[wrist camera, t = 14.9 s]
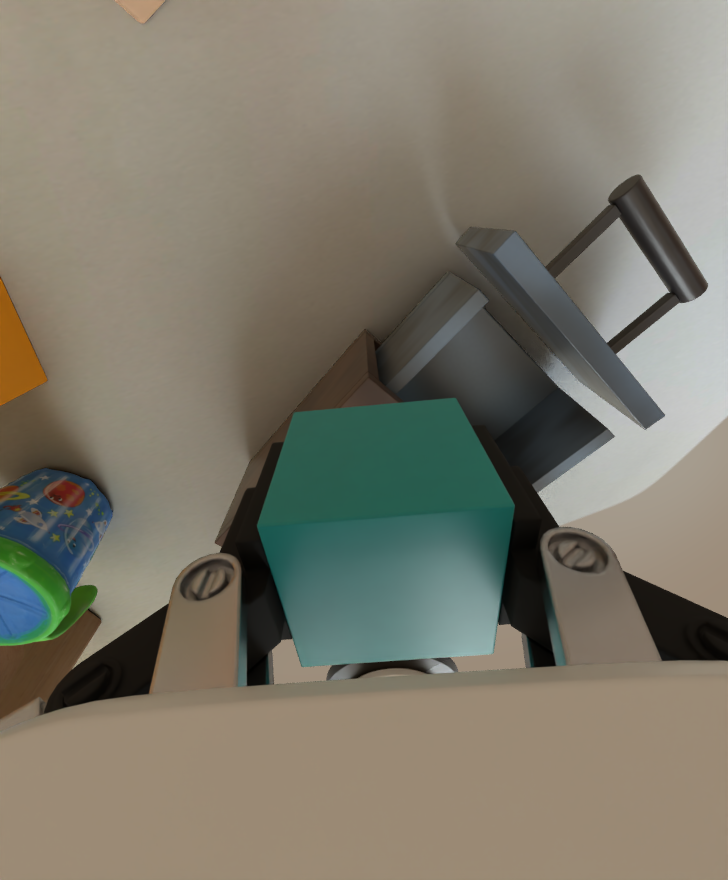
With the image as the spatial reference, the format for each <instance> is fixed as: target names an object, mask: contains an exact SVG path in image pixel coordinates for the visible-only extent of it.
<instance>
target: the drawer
mask: <svg viewBox="0 0 728 880" xmlns="http://www.w3.org/2000/svg"><path fill="white" fill-rule="evenodd" d="M608 201H609V203H610V205H608V206H607V207H606V208H605V209H604V210H603V211H602V212H601V213H600V214H599V215H598V216H597V217H596V218H595V219H594V220H593V221H592V222H591V223H590V224H589V225H588V226H587V227H586V228H585V229H584V230H583V231H582V232H581V233H580V234H579V235H578V236H577V237H576V238H575V239H574V240H573V241H572V242H571V243H570V244H569V245H568V246H567V247H565V248H564V249H563V250H562V251H561V252H560V253H559V254H558V255H557V256H556V257H555V258H554V259H553V260H552V261H551V262H550V263H549V264H548V265H547V266H546V267H544V265H543V264H542V263H541V262H540V260H539V259H538V258H537V257H536V256H535V254H534V253H533V252H532V251H531V249H530V248H529V247H528V246H527V244H526V243H525V242H524V241H523V240H522V238H521V237H520V236H519V235H518V233H517V232H516V231H511V230H500V229H488V228H477V227H470V228H469V229H468V230H467V231H466V232H465V234H464V235H463V236H462V237H461V238H460V239H459V240H458V241H457V243H456V245H457V246H458V247H459V248H460V250H461V251H462V252H463V253H464V254H465V255H466V256H467V257H468V258H469V260H470V261H471V262H472V263H473V264H474V265H475V266H476V267H477V268H478V270H479V271H480V272H481V273H482V274H483V275H484V276H485V277H486V278H487V280H488V281H489V282H490V283H491V284H492V285H493V286H494V287H495V288H496V290H497V291H498V292H499V293H500V294H501V295H502V296H503V297H504V298H505V300H506V301H507V302H508V303H509V304H510V305H511V306H512V307H513V308H514V310H515V311H516V312H517V313H518V314H519V315H520V316H521V317H522V318H523V320H524V321H525V322H526V323H527V324H528V325H529V326H530V327H531V328H532V330H533V331H534V332H535V333H536V334H537V335H538V336H539V337H540V338H541V340H542V341H543V342H544V343H545V344H546V345H547V346H548V347H549V348H550V350H551V351H552V352H553V353H554V354H555V355H556V356H557V357H558V358H559V360H560V361H561V362H562V363H563V364H564V365H565V366H566V367H567V368H568V370H569V371H570V372H571V373H572V374H573V375H574V376H575V377H576V378H577V380H578V381H580V382H581V383H582V384H584V385H585V386H586V387H588V388H589V389H590V390H592V391H593V392H594V393H596V394H597V395H598V396H600V397H601V398H603V399H604V400H605V401H607V402H608V403H609V404H611V405H612V406H613V407H615V408H616V409H617V410H619V411H620V412H621V413H623V414H624V415H626V416H627V417H628V418H630V419H631V420H632V421H634V422H635V423H636V424H638V425H639V426H640V427H642V428H643V429H645V430H646V429H647V428H649V427H650V426H651V425H653V424H654V423H656V422H657V421H659V420H660V419H661V418H663V417H664V416H665V414H664V413H663V412H662V411H661V409H660V408H659V407H658V406H657V404H656V403H655V402H654V401H653V400H652V398H651V397H650V396H649V395H648V393H647V392H646V391H645V390H644V388H643V387H642V386H641V385H640V384H639V382H638V381H637V380H636V379H635V377H634V376H633V375H632V374H631V372H630V371H629V370H628V369H627V368H626V366H625V365H624V364H623V363H622V361H621V360H620V359H619V358H618V356H617V355H616V353H618V352H619V351H620V350H621V349H623V348H624V347H625V346H626V345H627V344H629V343H630V342H631V341H632V340H634V339H635V338H636V337H637V336H639V335H640V334H641V333H642V332H643V331H645V330H646V329H647V328H648V327H650V326H651V325H652V324H653V323H655V322H656V321H657V320H658V319H660V318H661V317H662V316H663V315H664V314H666V313H667V312H668V311H669V310H671V309H672V308H673V307H674V306H676V305H677V304H678V303H686V302H689V301H692V300H694V299H696V298H698V297H699V296H701V295H702V294H703V293H704V292H705V291H706V289H707V287H708V283H707V282H706V280H705V278H704V277H703V275H702V273H701V272H700V270H699V269H698V267H697V265H696V264H695V262H694V261H693V259H692V257H691V256H690V254H689V252H688V251H687V249H686V248H685V246H684V244H683V243H682V241H681V239H680V238H679V236H678V235H677V233H676V231H675V230H674V228H673V226H672V225H671V223H670V222H669V220H668V218H667V217H666V215H665V214H664V212H663V210H662V209H661V207H660V205H659V204H658V202H657V201H656V199H655V197H654V196H653V194H652V192H651V191H650V189H649V188H648V186H647V184H646V183H645V181H644V180H643V178H642V176H641V175H635V176H632V177H630V178H629V179H627V180H626V181H624V182H623V183H621V184H620V185H619V186H618V187H617V188H616V189H615V190H614V191H613V192H612V193H611V194H610V196H609V198H608ZM618 217H619V218H620V219H621V221H622V222H623V224H624V225H625V227H626V228H627V230H628V231H629V233H630V234H631V236H632V237H633V239H634V240H635V242H636V243H637V245H638V246H639V248H640V249H641V250H642V252H643V253H644V255H645V256H646V258H647V259H648V261H649V262H650V264H651V265H652V267H653V268H654V270H655V271H656V273H657V274H658V276H659V277H660V279H661V280H662V282H663V283H664V285H665V286H666V288H667V289H668V290H669V292H670V293H667V294H665V295H664V296H663V297H662V298H661V299H659V300H658V301H657V302H656V303H655V304H653V305H652V306H651V307H650V308H649V309H647V310H646V311H645V312H644V313H643V314H641V315H640V316H639V317H638V318H637V319H635V320H634V321H633V322H632V323H630V324H629V325H628V326H627V327H626V328H624V329H623V330H622V331H621V332H620V333H618V334H617V335H616V336H615V337H614V338H612V339H611V340H610V341H609V342H608V343H606V342H605V340H604V339H603V338H602V337H601V336H600V334H599V333H598V332H597V331H596V329H595V328H594V327H593V326H592V324H591V323H590V322H589V321H588V320H587V318H586V317H585V316H584V315H583V313H582V312H581V311H580V310H579V308H578V307H577V306H576V305H575V304H574V302H573V301H572V300H571V299H570V297H569V296H568V295H567V294H566V292H565V291H564V290H563V289H562V288H561V286H560V285H559V284H558V283H557V281H556V280H555V278H556V277H557V276H558V275H559V274H560V273H561V272H562V271H563V270H564V269H565V268H566V267H567V266H568V265H569V264H570V263H571V262H572V261H573V260H574V259H575V258H577V257H578V256H579V255H580V254H581V253H582V252H583V251H584V250H585V249H586V248H587V247H588V246H589V245H590V244H591V243H592V242H593V241H594V240H595V239H596V238H597V237H598V236H600V235H601V234H602V233H603V232H604V231H605V230H606V229H607V228H608V227H609V226H610V225H611V224H612V223H613V222H614V221H615V220H616V219H617V218H618ZM488 301H489V299H488V298H487V297H486V296H485V295H484V294H483V293H482V292H481V291H480V290H479V289H478V288H476V287H474V286H473V285H471V284H469V283H468V282H466V281H464V280H463V279H461V278H459V277H457V276H456V275H454V274H452V273H450V272H447V273H446V274H445V275H444V276H443V277H442V278H441V279H440V280H439V282H438V283H437V284H436V285H435V286H434V287H433V288H432V289H431V290H430V292H429V293H428V294H427V295H426V296H425V297H424V298H423V299H422V300H421V301H420V303H419V304H418V305H417V306H416V307H415V308H414V309H413V310H412V311H411V312H410V314H409V315H408V316H407V317H406V318H405V319H404V320H403V321H402V322H401V324H400V325H399V326H398V327H397V328H396V329H395V330H394V331H393V332H392V333H391V335H390V336H389V337H388V338H387V339H386V340H385V341H384V342H383V343H382V345H381V346H380V347H379V348H378V349H377V350H376V351H375V353H376V360H377V368H378V375H379V381H380V382H381V383H382V384H384V385H385V386H386V387H387V388H388V389H390V390H391V391H392V392H393V393H394V394H396V395H397V396H398V397H399V398H400V399H402V400H403V401H404V402H413V401H424V400H436V399H447V398H456V399H457V401H458V403H459V404H460V406H461V408H462V410H463V412H464V414H465V415H466V417H467V419H468V421H469V423H470V424H471V426H474V425H485V426H486V428H487V430H488V431H489V433H490V435H491V436H492V438H493V439H494V441H495V443H496V444H497V446H498V448H499V449H500V451H501V452H502V454H503V456H504V457H505V459H506V461H507V462H508V464H509V465H510V466H518V467H520V468H521V469H522V471H523V472H524V474H525V475H526V477H527V478H528V480H529V481H530V483H531V484H532V486H533V487H534V489H535V491H536V492H539V491H540V490H542V489H543V488H544V487H546V486H547V485H549V484H550V483H551V482H553V481H554V480H555V479H557V478H558V477H560V476H561V475H562V474H564V473H565V472H567V471H568V470H569V469H571V468H572V467H573V466H575V465H576V464H578V463H579V462H580V461H582V460H583V459H585V458H586V457H587V456H589V455H590V454H592V453H593V452H594V451H596V450H597V449H598V448H600V447H601V446H603V445H604V444H605V443H607V442H608V441H610V440H611V439H612V438H614V437H615V436H614V435H613V434H612V433H611V432H610V430H609V429H608V428H606V427H605V426H604V425H603V424H602V423H601V422H599V421H598V420H597V419H596V418H595V417H593V416H592V415H591V414H590V413H589V412H587V411H586V410H585V409H584V408H583V407H582V406H580V405H579V404H578V403H577V402H576V401H574V400H573V399H572V398H571V397H570V396H569V395H567V394H566V393H565V392H564V391H563V390H561V389H560V388H559V387H558V386H557V385H556V384H555V383H554V382H553V381H552V380H551V379H550V377H549V376H548V375H547V374H546V373H545V372H544V371H543V370H542V369H541V368H540V367H539V366H538V365H537V364H536V363H535V361H534V360H533V359H532V358H531V357H530V356H529V355H528V354H527V353H526V352H525V351H524V350H523V349H522V348H521V347H520V346H519V344H518V343H517V342H516V341H515V340H514V339H513V338H512V337H511V336H510V335H509V334H508V333H507V332H506V331H505V330H504V328H503V327H502V326H501V325H500V324H499V323H498V322H497V321H496V320H495V319H494V318H493V317H492V316H491V315H490V314H489V312H488V311H487V310H486V309H485V308H484V306H485V305H486V304H487V303H488Z"/></svg>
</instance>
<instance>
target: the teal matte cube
mask: <svg viewBox="0 0 728 880" xmlns="http://www.w3.org/2000/svg"><path fill="white" fill-rule="evenodd" d="M514 508H515V505H514V503H513V501H512V499H511V497H510V495H509V493H508V492H507V490H506V488H505V486H504V484H503V483H502V481H501V479H500V477H499V475H498V473H497V472H496V470H495V468H494V466H493V464H492V463H491V461H490V459H489V457H488V455H487V454H486V452H485V450H484V448H483V446H482V444H481V443H480V441H479V439H478V437H477V435H476V434H475V432H474V430H473V428H472V426H471V424H470V423H469V421H468V419H467V417H466V415H465V414H464V412H463V410H462V408H461V406H460V404H459V403H458V401H457V399H456V398H447V399H436V400H424V401H413V402H402V403H391V404H380V405H369V406H358V407H347V408H336V409H325V410H314V411H303V412H294V413H293V416H292V419H291V422H290V426H289V429H288V432H287V435H286V438H285V441H284V444H283V447H282V450H281V453H280V456H279V459H278V462H277V465H276V468H275V472H274V475H273V478H272V481H271V484H270V487H269V490H268V493H267V496H266V499H265V502H264V505H263V508H262V511H261V514H260V517H259V521H258V524H257V528H258V532H259V535H260V538H261V541H262V544H263V547H264V550H265V554H266V557H267V560H268V563H269V566H270V569H271V572H272V575H273V579H274V582H275V585H276V588H277V591H278V594H279V597H280V601H281V604H282V607H283V610H284V613H285V616H286V619H287V623H288V626H289V629H290V632H291V635H292V638H293V641H294V645H295V647H296V651H297V654H298V657H299V660H300V663H301V666H302V667H311V666H325V665H340V664H355V663H370V662H384V661H399V660H414V659H429V658H443V657H457V656H473V655H487V654H493V653H494V646H495V639H496V632H497V626H498V619H499V612H500V605H501V598H502V591H503V584H504V577H505V570H506V563H507V556H508V549H509V543H510V536H511V529H512V522H513V515H514Z"/></svg>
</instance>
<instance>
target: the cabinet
mask: <svg viewBox="0 0 728 880" xmlns="http://www.w3.org/2000/svg"><path fill="white" fill-rule="evenodd" d="M381 345H382V343H380V342H379V341H378V340H377V339H376V338H375V337H374V336H372V335H371V334H370V333H369V332H368V331H367V330H366V329H365V330H364V331H363V332H362V333H361V334H360V335H359V336H358V338H357V339H356V340H355V341H354V342H353V343H352V344H351V346H350V347H349V348H348V349H347V350H346V351H345V353H344V354H343V355H342V356H341V357H340V358H339V359H338V361H337V362H336V363H335V364H334V365H333V366H332V368H331V369H330V370H329V371H328V372H327V373H326V374H325V376H324V377H323V378H322V379H321V380H320V381H319V383H318V384H317V385H316V386H315V387H314V388H313V389H312V391H311V392H310V393H309V394H308V395H307V396H306V398H305V399H304V400H303V401H302V402H301V403H300V405H299V406H298V407H297V408H296V409H295V410H294V411H293V413H294V412H303V411H314V410H325V409H336V408H347V407H358V406H369V405H380V404H391V403H402V402H404V401H403V400H402V399H400V398H399V397H398V396H397V395H396V394H394V393H393V392H392V391H391V390H390V389H388V388H387V387H386V386H385V385H384V384H382V383H381V382H380V381H379V375H378V368H377V360H376V353H375V351H376V350H377V349H378V348H379V347H380V346H381ZM293 413H292V414H291V415H290V416H289V417H288V418H287V420H286V421H285V422H284V423H283V424H282V425H281V426H280V428H279V429H278V430H277V431H276V432H275V433H274V435H273V436H272V437H271V438H270V439H269V440H268V441H267V443H266V444H265V445H264V446H263V447H262V448H261V450H260V451H259V452H258V453H257V454H256V455H255V456H254V458H253V459H252V460H251V461H250V463H249V465H248V467H247V469H246V472H245V474H244V476H243V478H242V481H241V483H240V485H239V488H238V490H237V492H236V494H235V497H234V499H233V501H232V504H231V506H230V508H229V510H228V513H227V515H226V517H225V519H224V522H223V524H222V526H221V529H220V531H219V534H218V536H217V538H216V540H215V543H216V544H217V545H219V546H221V547H222V546H223V543H224V541H225V538H226V536H227V533H228V531H229V529H230V526H231V524H232V521H233V519H234V516H235V514H236V512H237V509H238V507H239V504H240V502H241V499H242V497H243V494H244V492H245V491H246V489H247V488H252V487H256V485H257V482H258V479H259V477H260V474H261V471H262V469H263V466H264V463H265V461H266V458H267V456H268V453H269V450H270V448H271V445H272V443H275V442H284V441H285V438H286V435H287V432H288V429H289V426H290V422H291V419H292V416H293Z"/></svg>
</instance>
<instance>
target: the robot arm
mask: <svg viewBox="0 0 728 880" xmlns="http://www.w3.org/2000/svg"><path fill="white" fill-rule="evenodd" d="M472 428H473V430H474V432H475V434H476V435H477V437H478V439H479V441H480V443H481V444H482V446H483V448H484V450H485V452H486V454H487V455H488V457H489V459H490V461H491V463H492V464H493V466H494V468H495V470H496V472H497V473H498V475H499V477H500V479H501V481H502V483H503V484H504V486H505V488H506V490H507V492H508V493H509V495H510V497H511V499H512V501H513V503H514V505H515V508H514V515H513V522H512V529H511V536H510V543H509V549H508V556H507V563H506V570H505V577H504V584H503V591H502V598H501V605H500V612H499V619H498V623H499V625H504V624H511V626H512V627H514V628H515V629H517V630H518V631H520V632H522V643H523V650H524V658H525V665H526V668H520V669H502V670H487V671H469V672H453V673H438V674H426V673H424V672H421V671H418V670H415V669H410V668H399V667H395V668H383V669H378V670H374V671H371V672H368V673H366V674H363V675H361V676H360V677H358V678H357V679H345V680H330V681H317V682H316V681H315V682H302V683H287V684H274V677H273V657H272V649H273V648H274V647H275V646H277V645H278V644H279V643H280V642H281V640H284V639H292V635H291V632H290V629H289V626H288V623H287V619H286V616H285V613H284V610H283V607H282V604H281V601H280V597H279V594H278V591H277V588H276V585H275V582H274V579H273V575H272V572H271V569H270V566H269V563H268V560H267V557H266V554H265V550H264V547H263V544H262V541H261V538H260V535H259V532H258V528H257V524H258V521H259V517H260V514H261V511H262V508H263V505H264V502H265V499H266V496H267V493H268V490H269V487H270V484H271V481H272V478H273V475H274V472H275V468H276V465H277V462H278V459H279V456H280V453H281V450H282V447H283V444H284V442H275V443H272V445H271V448H270V450H269V453H268V456H267V458H266V461H265V463H264V466H263V469H262V471H261V474H260V477H259V479H258V482H257V485H256V487H252V488H247V489H246V491H245V492H244V494H243V497H242V499H241V502H240V504H239V507H238V509H237V512H236V514H235V516H234V519H233V521H232V524H231V526H230V529H229V531H228V533H227V536H226V538H225V541H224V543H223V546H222V548H221V550H220V553H216V554H210V555H207V556H204V557H201V558H199V559H197V560H196V561H194V562H192V563H191V564H189V565H188V566H187V567H186V568H185V569H184V570H182V572H181V573H180V574H179V576H178V577H177V578H176V580H175V583H174V585H173V588H172V592H171V597H170V601H169V604H167V605H166V606H164V607H163V608H161V609H160V610H158V611H157V612H155V613H154V614H152V615H151V616H149V617H148V618H146V619H145V620H143V621H142V622H140V623H139V624H137V625H136V626H134V627H133V628H131V629H130V630H129V631H127V632H126V633H124V634H123V635H121V636H120V637H118V638H117V639H115V640H114V641H112V642H111V643H109V644H108V645H106V646H105V647H103V648H102V649H100V650H99V651H97V652H96V653H94V654H93V655H91V656H90V657H89V658H87V659H86V660H84V661H83V662H81V663H80V664H79V665H77V666H76V667H75V668H74V669H72V670H71V671H70V672H69V673H68V674H67V675H66V676H65V677H64V678H63V679H62V680H61V681H60V682H59V683H58V684H57V686H56V687H55V689H54V691H53V692H52V694H51V695H50V697H49V698H48V699H46V700H45V701H43V700H42V699H41V698H40V697H38V698H36V699H34V700H33V701H31V702H29V703H27V704H26V705H24V706H22V707H20V708H19V709H17V710H15V711H13V712H12V713H10V714H8V715H6V716H5V717H3V718H1V719H0V880H728V618H726V617H724V616H722V615H720V614H718V613H715V612H713V611H711V610H709V609H706V608H704V607H702V606H700V605H698V604H695V603H693V602H691V601H689V600H687V599H684V598H682V597H680V596H678V595H676V594H673V593H671V592H669V591H667V590H664V589H662V588H660V587H658V586H656V585H653V584H651V583H649V582H647V581H644V580H642V579H640V578H638V577H636V576H633V575H631V574H629V573H627V572H625V571H623V570H622V568H621V566H620V563H619V561H618V559H617V556H616V554H615V553H614V551H613V550H612V548H611V547H610V546H609V545H608V544H607V543H606V542H605V541H604V540H603V539H601V538H599V537H598V536H596V535H594V534H593V533H590V532H588V531H585V530H582V529H578V528H572V527H559V526H558V524H557V523H556V521H555V520H554V518H553V517H552V515H551V513H550V512H549V510H548V509H547V507H546V506H545V504H544V503H543V501H542V500H541V498H540V497H539V495H538V494H537V492H536V491H535V489H534V487H533V486H532V484H531V483H530V481H529V480H528V478H527V477H526V475H525V474H524V472H523V471H522V469H521V468H520V467H518V466H510V465H509V464H508V462H507V461H506V459H505V457H504V456H503V454H502V452H501V451H500V449H499V448H498V446H497V444H496V443H495V441H494V439H493V438H492V436H491V435H490V433H489V431H488V430H487V428H486V426H485V425H474V426H472Z"/></svg>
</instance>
